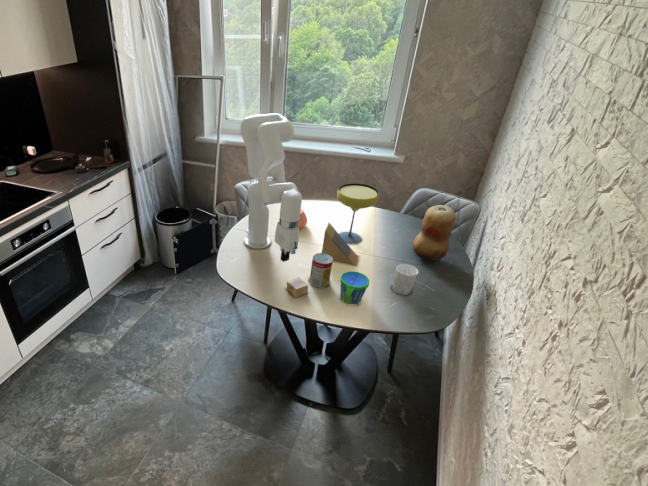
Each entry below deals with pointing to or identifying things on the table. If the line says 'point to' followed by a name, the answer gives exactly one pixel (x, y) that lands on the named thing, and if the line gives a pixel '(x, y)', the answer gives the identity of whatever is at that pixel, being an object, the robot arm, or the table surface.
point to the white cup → (404, 278)
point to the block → (297, 287)
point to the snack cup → (353, 286)
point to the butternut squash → (435, 233)
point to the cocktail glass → (356, 204)
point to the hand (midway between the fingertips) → (284, 259)
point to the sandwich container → (338, 247)
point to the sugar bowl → (302, 219)
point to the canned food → (321, 270)
